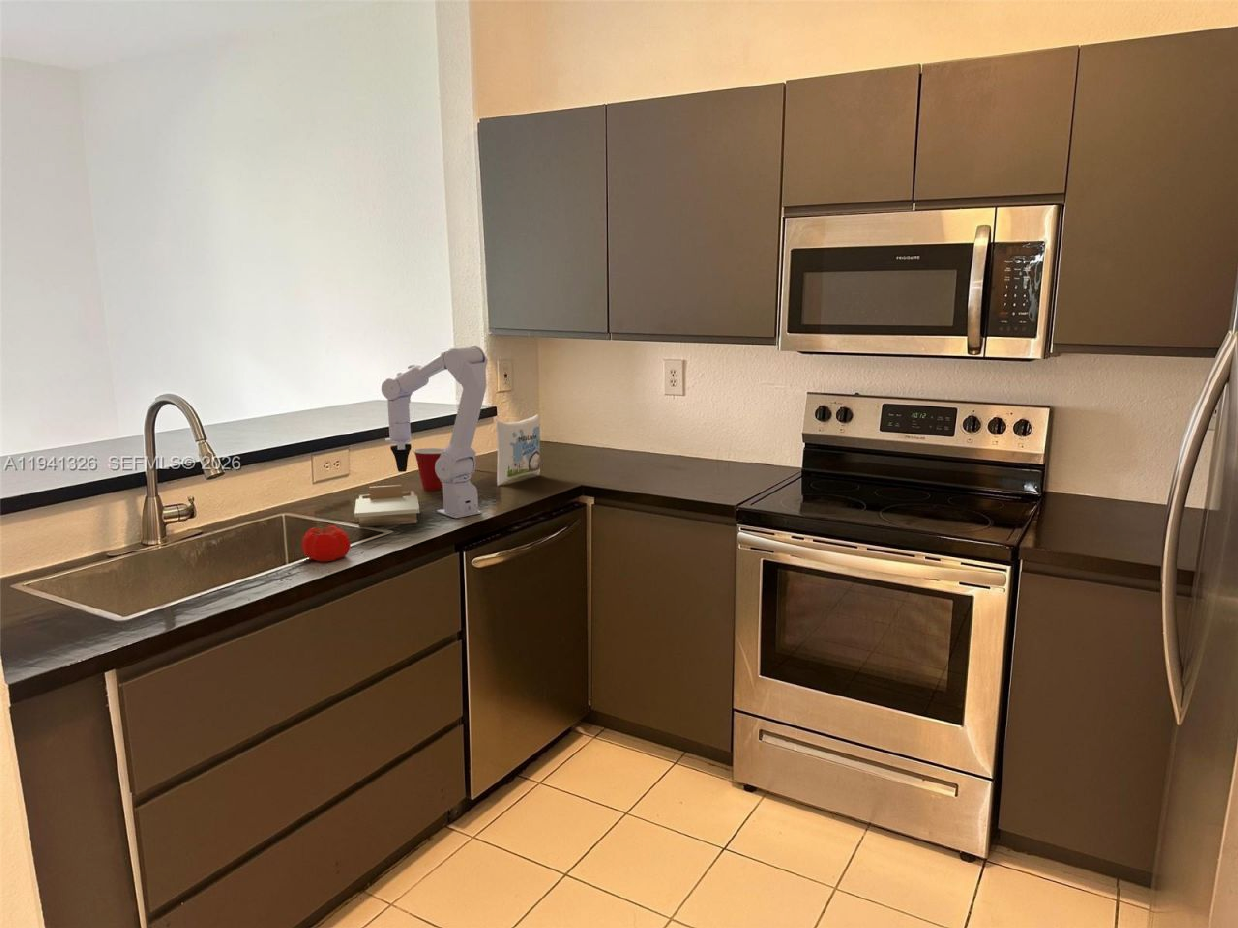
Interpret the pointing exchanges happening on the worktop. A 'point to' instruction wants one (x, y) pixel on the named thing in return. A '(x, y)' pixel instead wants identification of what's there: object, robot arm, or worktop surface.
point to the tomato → (325, 543)
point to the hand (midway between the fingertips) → (402, 471)
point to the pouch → (518, 448)
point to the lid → (386, 502)
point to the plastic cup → (428, 467)
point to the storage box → (387, 516)
